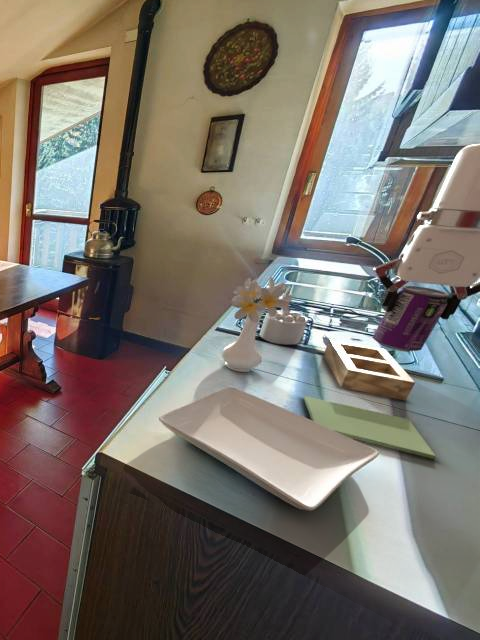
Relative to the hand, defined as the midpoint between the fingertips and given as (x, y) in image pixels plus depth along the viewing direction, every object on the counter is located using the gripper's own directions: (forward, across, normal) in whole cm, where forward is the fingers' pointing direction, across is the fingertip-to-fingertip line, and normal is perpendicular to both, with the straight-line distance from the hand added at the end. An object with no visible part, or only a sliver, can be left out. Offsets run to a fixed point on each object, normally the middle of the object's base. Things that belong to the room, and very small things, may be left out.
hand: (413, 312), depth 76 cm
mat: (+25, -1, -3) cm, 25 cm away
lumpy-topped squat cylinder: (+25, -11, +47) cm, 54 cm away
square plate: (+25, -20, -24) cm, 41 cm away
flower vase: (+25, -23, +14) cm, 37 cm away
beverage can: (+7, 0, 0) cm, 8 cm away
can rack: (+25, +5, +27) cm, 37 cm away
